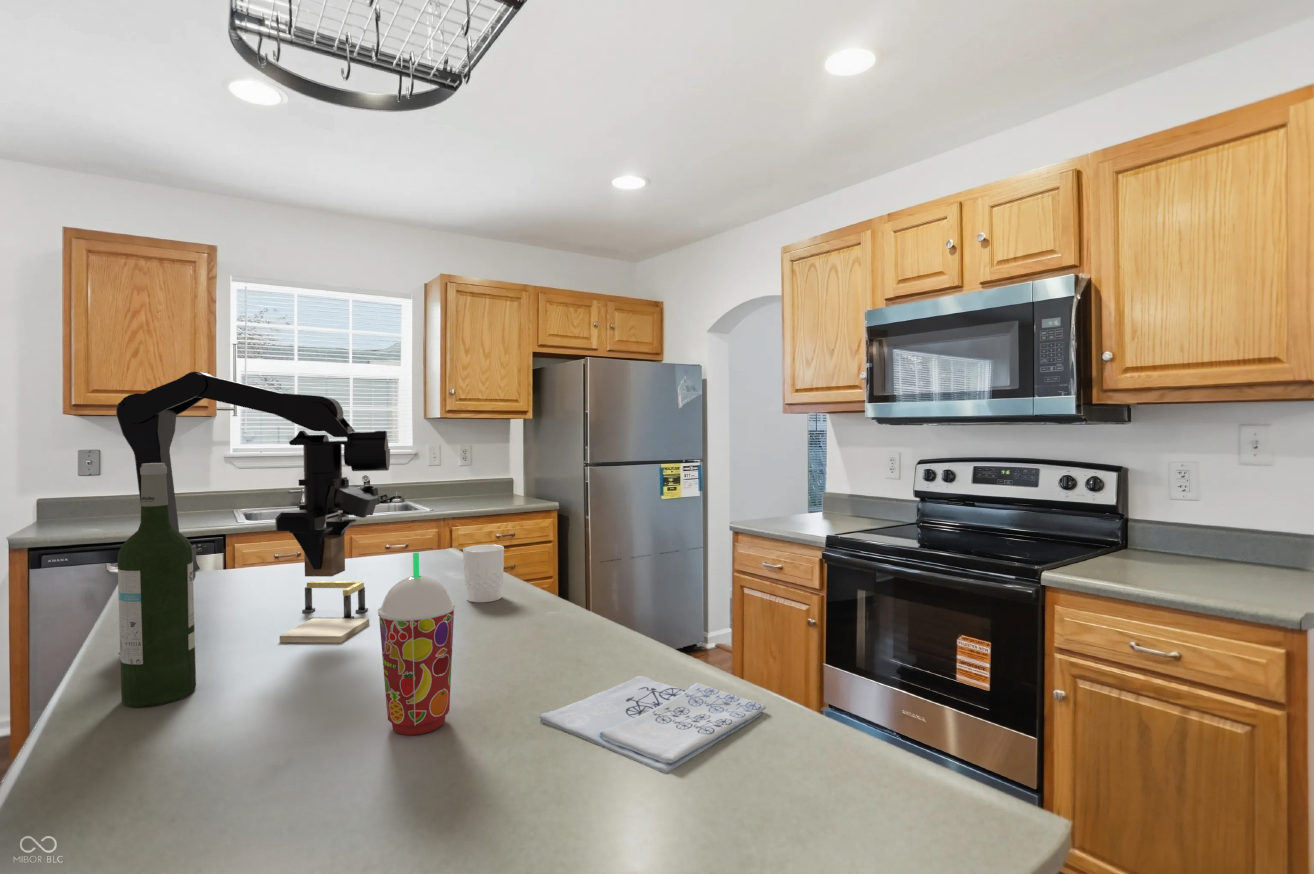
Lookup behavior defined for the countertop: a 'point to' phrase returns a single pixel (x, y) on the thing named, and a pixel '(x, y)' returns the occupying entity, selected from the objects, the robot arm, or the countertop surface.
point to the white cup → (483, 572)
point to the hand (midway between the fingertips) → (325, 566)
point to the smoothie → (417, 652)
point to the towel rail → (350, 589)
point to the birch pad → (324, 630)
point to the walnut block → (329, 558)
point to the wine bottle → (156, 603)
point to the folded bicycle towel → (655, 720)
